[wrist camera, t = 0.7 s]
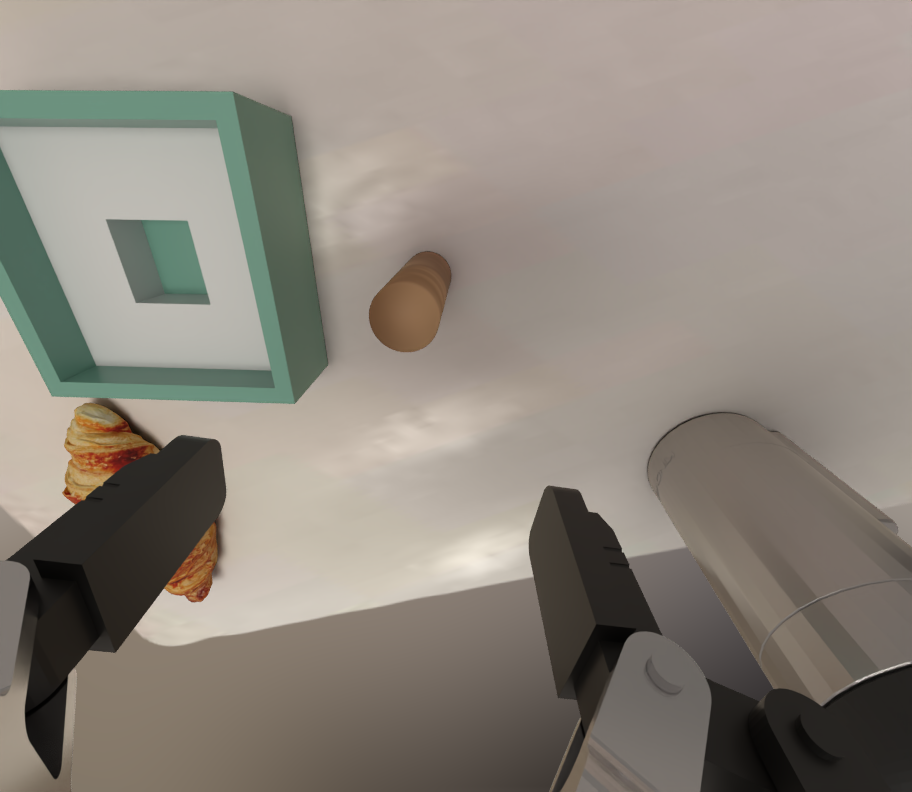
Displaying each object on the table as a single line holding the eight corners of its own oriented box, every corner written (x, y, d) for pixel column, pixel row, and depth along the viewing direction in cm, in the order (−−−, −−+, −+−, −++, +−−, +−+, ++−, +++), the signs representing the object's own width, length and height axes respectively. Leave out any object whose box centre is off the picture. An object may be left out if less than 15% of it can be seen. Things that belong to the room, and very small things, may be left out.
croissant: (105, 381, 34) (-23, 428, 28) (157, 390, 29) (14, 450, 23) (211, 555, 43) (131, 618, 37) (266, 585, 38) (182, 664, 32)
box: (291, 116, 22) (232, 91, 17) (328, 365, 29) (294, 403, 23) (31, 114, 22) (-107, 89, 17) (129, 359, 29) (52, 396, 24)
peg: (451, 251, 25) (439, 283, 16) (450, 299, 26) (439, 353, 17) (404, 251, 25) (365, 282, 16) (406, 298, 26) (372, 351, 17)
